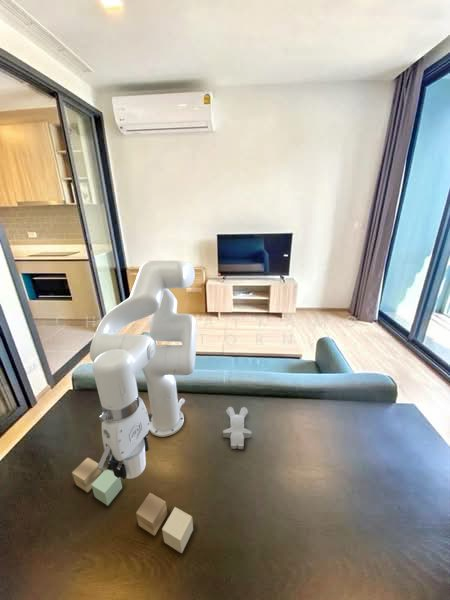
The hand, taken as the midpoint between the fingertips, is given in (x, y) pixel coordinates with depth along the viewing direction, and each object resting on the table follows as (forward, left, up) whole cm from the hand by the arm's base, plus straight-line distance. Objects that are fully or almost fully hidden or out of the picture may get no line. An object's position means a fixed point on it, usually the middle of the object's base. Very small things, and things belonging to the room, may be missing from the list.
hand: (132, 460), depth 61 cm
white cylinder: (0, 0, -2) cm, 2 cm away
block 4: (+2, +14, -16) cm, 21 cm away
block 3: (+2, +6, -16) cm, 17 cm away
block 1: (+2, -18, -16) cm, 24 cm away
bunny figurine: (-31, +15, -16) cm, 38 cm away
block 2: (+2, -10, -16) cm, 18 cm away
